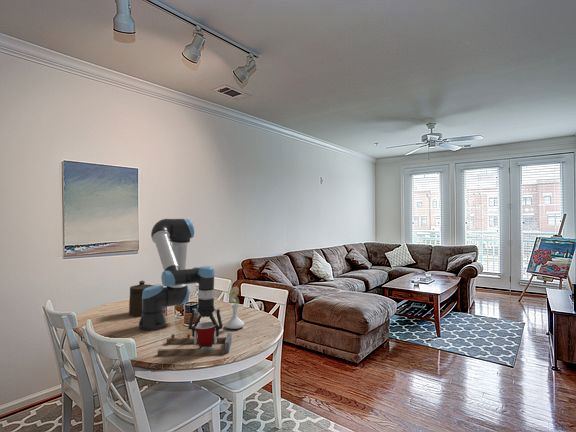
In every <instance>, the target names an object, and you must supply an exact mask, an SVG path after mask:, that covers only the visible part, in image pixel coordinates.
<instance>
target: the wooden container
mask: <svg viewBox="0 0 576 432" xmlns="http://www.w3.org/2000/svg"><path fill="white" fill-rule="evenodd" d="M145 283H146V282H145V281H144V280H140V281H139V282H138V284H137V285H135V284H134V285H131V286H130V287H129V303H128V307H129V309H128V315H129V316H131V317H134V318H135V317H137V318H138V317H140V318H141V316H142V293H143V290H144V289H146V288H148V287H151V286H154V285H153V284H147V283H146V284H145Z"/></svg>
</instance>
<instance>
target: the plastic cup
mask: <svg viewBox="0 0 576 432" xmlns="http://www.w3.org/2000/svg"><path fill="white" fill-rule="evenodd" d="M215 326H216V325H213V323H212V321H204V322H199V323H198V324H197V326H196V327H195V326H194V325H193V327H195V329H196V331H197V337H198V342H199V343H198V345H199V348H201V347H213V344H214V343H213V338H214V333H215V329H216V328H215Z"/></svg>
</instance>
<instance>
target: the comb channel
mask: <svg viewBox="0 0 576 432" xmlns="http://www.w3.org/2000/svg"><path fill="white" fill-rule="evenodd" d="M175 335H176V334H175V333H172V334H171V335H170V336H171V337H167V338H166V344H167V345H170V344H171V345H176V344H194V337H191V333H187V334H186V335H187V336H186V337H176V336H175ZM226 337H227V336H218V337H217V342H216V344H225V340H226ZM196 344H199V342H198V336H197V343H196ZM212 344H214V338H213V343H212ZM225 354H226V353H225V347H215V346H212V347H201V348H200V347H199V348H165V349H164V348H163V349H161V348H159V349H157V356H158V357H159V356H160V357H161V356H162V357H164V356H165V357H166V356H170V357H171V356H172V357H173V356H204V355H206V356H209V355H211V356H213V355H225Z"/></svg>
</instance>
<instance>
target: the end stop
mask: <svg viewBox="0 0 576 432" xmlns="http://www.w3.org/2000/svg"><path fill="white" fill-rule="evenodd" d="M225 337H226V340H225V343H224V348H225V354H229V353H230V350H231V345H232V332H227V334H226V336H225Z"/></svg>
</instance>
